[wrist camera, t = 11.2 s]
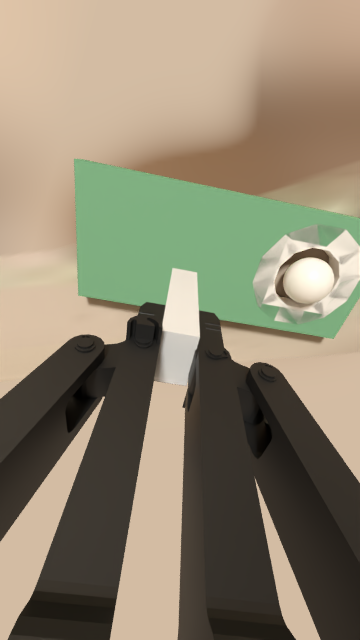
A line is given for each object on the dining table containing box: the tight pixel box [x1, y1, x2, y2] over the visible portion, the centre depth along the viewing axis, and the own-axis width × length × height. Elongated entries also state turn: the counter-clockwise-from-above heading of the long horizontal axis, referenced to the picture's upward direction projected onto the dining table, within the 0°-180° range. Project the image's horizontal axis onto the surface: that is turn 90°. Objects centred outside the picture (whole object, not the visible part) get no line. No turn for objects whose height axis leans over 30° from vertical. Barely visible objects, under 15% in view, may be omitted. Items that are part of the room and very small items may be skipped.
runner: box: [74, 159, 360, 339], centre depth 25 cm, size 12×28×2 cm, turn 80°
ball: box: [283, 257, 334, 304], centre depth 24 cm, size 4×4×4 cm
